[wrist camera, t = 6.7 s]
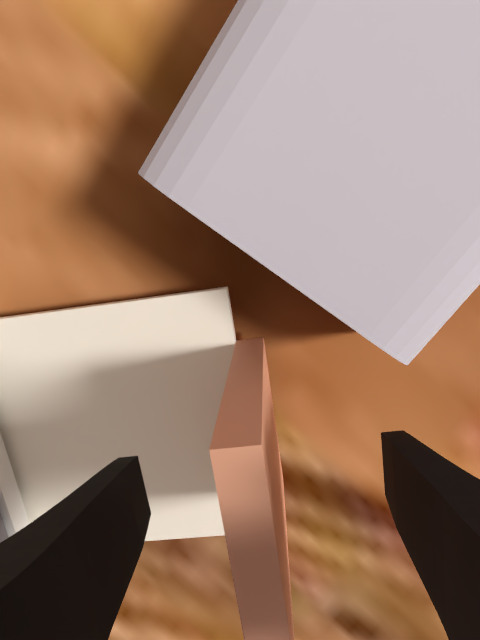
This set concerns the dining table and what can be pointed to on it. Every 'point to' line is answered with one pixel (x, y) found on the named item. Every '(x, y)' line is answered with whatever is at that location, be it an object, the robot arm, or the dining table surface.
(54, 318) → the cream boxy piece
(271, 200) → the charger
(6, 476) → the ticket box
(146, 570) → the dining table surface
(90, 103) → the dining table surface
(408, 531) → the robot arm
